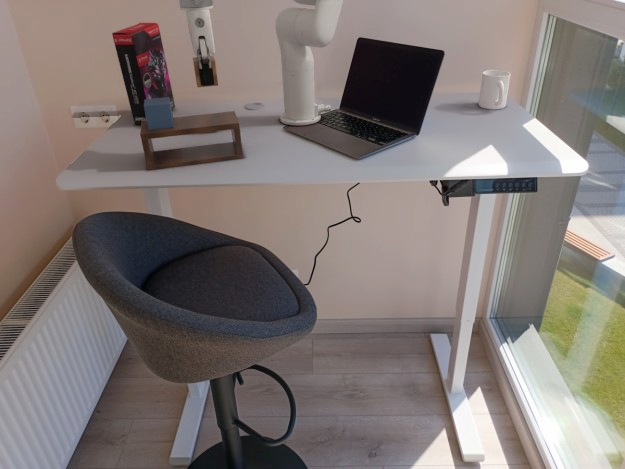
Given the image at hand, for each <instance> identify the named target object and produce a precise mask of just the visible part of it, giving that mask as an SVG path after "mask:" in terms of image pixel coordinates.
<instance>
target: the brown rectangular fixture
mask: <svg viewBox="0 0 625 469" xmlns="http://www.w3.org/2000/svg"><path fill="white" fill-rule="evenodd" d="M173 123H174V127H173V128H165V129H156V130H149V129H148V124H147V121H142V123H141V125H140V130H139V135H140V140H141V145H142V150H143V154H144V159H145V162H146V167H147V170H148V171H151V170H159V169H166V168H167V169H168V168H174V167H183V166H184V167H185V166H192V165H200V164H206V163H207V164H208V163H216V162H222V161H223V162H225V161H230V160H239V159H244V154H243V144H242V137H241V128H240V121H239V119H238V116H237V113H236V112H235V110H232V111H224V112H213V113H205V114H204V113H203V114H196V115H185V116H177V117H173ZM228 130H229V131H231V140H232V141H230V142H221V143H212V144H205V145H204V144H203V145H197V146H188V147H178V148H170V149H164V150H163V149H162V150H154V145H153V140H154V139H160V138H161V139H162V138H168V137H178V136H186V135H195V134H196V135H197V134H205V133H211V132H221V131H228Z"/></svg>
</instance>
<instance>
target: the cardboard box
mask: <svg viewBox="0 0 625 469" xmlns="http://www.w3.org/2000/svg"><path fill="white" fill-rule="evenodd" d="M207 58H208V57H207ZM201 59H202V58H201ZM210 61H211V67H212V69H213V77H214V85H208V86H202V85H201V82H200V75H199V69H200V67H199V60H198V57H197V56H195V57H192V62H193V63H192V64H193V69H194V76H195V83H196V87H197V88H207V87H217V86H219V81H218V72H217V71H218V70H217V64H216V59H215V57H214V55H210ZM201 65H202V64H201Z"/></svg>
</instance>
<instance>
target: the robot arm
mask: <svg viewBox="0 0 625 469" xmlns="http://www.w3.org/2000/svg"><path fill="white" fill-rule="evenodd" d="M293 2H295V3H296V4H300V5H304V6H314V8H307V7H306V8H305V7H288V8H284V9H282V10H281V11H280V12H279V13H278V14H277V17H276V20H275V25H274V26H275V34H276V38H277V41H278V45H279V51H280V60H281V78H282V93H283V108H284V109H283V110H284V112H282V113H281V114H280V115H279V121H280V122H281V123H282V124H284V125H289V126H308V125H313V124H316V123H318V122H319V121H321V119H322V116H321V113H323V112H324V113H326V112H331V111H332V106H331V104H325V103H322V104H321V103H320V104H318V103H317V102H316V76H315V57H314V55H313V51H312V49H311V48H324V47H328V46H329V44H331V42H332V41H333V40H334V37H335V33H336V30H337V27H338V22H339V19H340V15H341V11H342V7H343V3H344V0H293ZM178 5H179V10H180V11H185V15H186V21H187V27H188V33H189V39H190V42H191V47H192V49H193V53H194V56H195V57H198V60H199V67H200V69H199V75H200V82H201V85H202V86H208V85H214V77H213V69H212V67H211V61H210V56H211V54H212V56H215V55H216V47H215V46H216V45H215V39H214V38H215V37H214V30H213V24H212V23H213V22H212V17H211V12H210V9H213V8H214V0H178ZM207 57H208V58H207ZM201 58H202V59H201ZM201 64H202V65H201ZM208 87H209V86H208Z"/></svg>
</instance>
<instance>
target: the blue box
mask: <svg viewBox="0 0 625 469" xmlns="http://www.w3.org/2000/svg"><path fill="white" fill-rule="evenodd" d="M144 110H145V115H146V120H147V124H148V129H149V130H156V129H165V128H173V127H174V123H173V118H174V115H173V110H171V104H170V99H169V97H164V98H154V99H145V101H144Z"/></svg>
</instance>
